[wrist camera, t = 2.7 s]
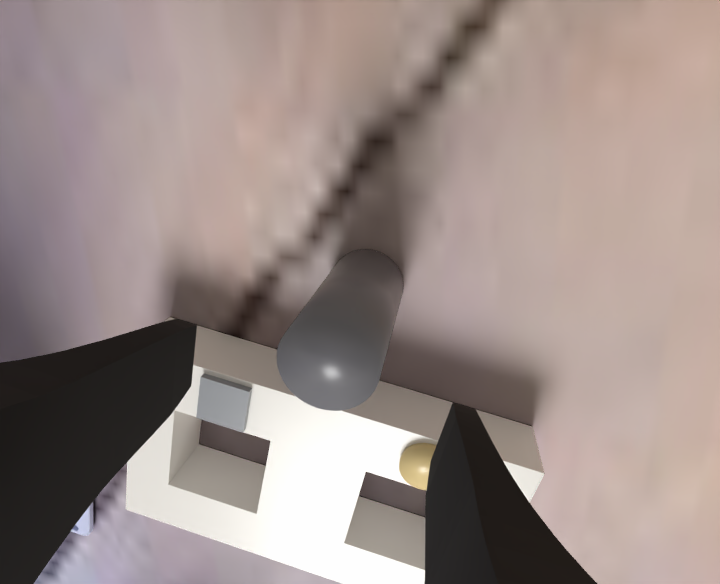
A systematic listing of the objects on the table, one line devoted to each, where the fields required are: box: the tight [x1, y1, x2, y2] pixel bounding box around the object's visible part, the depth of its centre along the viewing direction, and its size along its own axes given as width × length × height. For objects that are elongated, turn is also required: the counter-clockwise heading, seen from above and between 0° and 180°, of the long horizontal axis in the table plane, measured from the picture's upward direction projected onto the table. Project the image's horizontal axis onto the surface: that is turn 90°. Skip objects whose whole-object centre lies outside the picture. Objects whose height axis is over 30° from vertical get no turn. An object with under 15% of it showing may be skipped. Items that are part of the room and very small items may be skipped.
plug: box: [276, 249, 403, 411], centre depth 17 cm, size 3×3×7 cm
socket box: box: [126, 317, 544, 584], centre depth 23 cm, size 18×10×3 cm, turn 77°
